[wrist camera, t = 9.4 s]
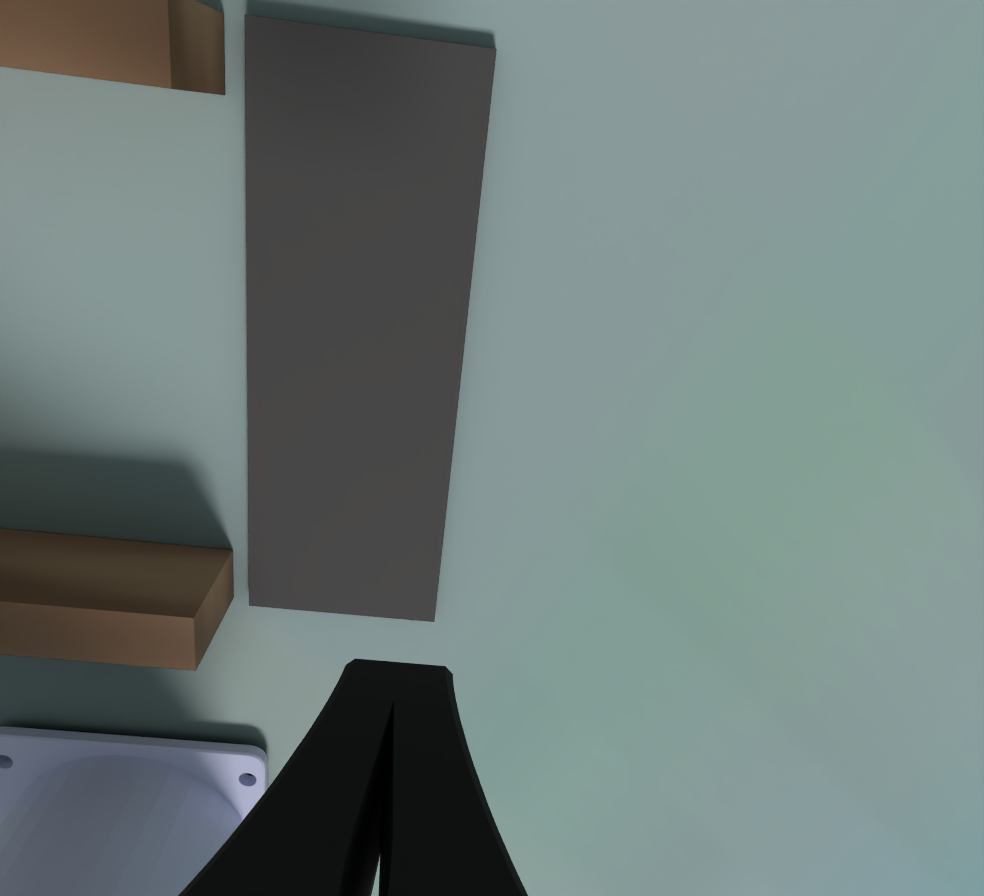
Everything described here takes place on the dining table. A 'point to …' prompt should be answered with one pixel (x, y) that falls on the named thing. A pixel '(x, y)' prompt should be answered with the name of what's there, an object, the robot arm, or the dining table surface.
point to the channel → (90, 560)
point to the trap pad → (356, 307)
